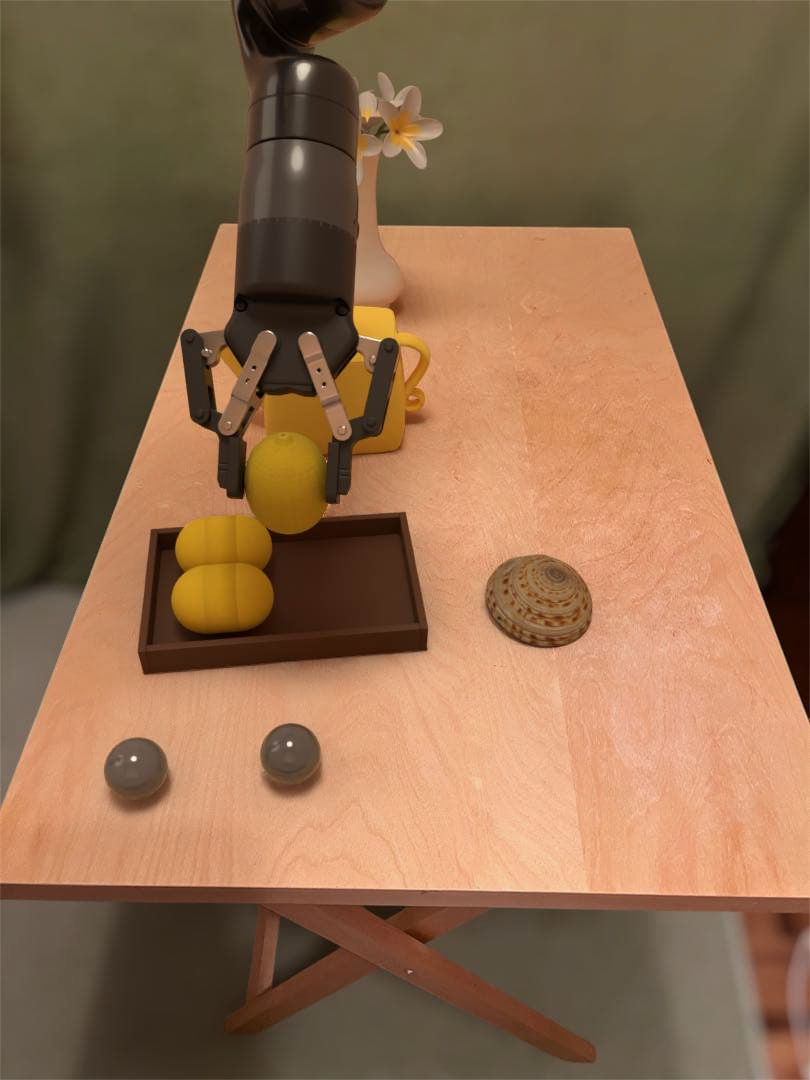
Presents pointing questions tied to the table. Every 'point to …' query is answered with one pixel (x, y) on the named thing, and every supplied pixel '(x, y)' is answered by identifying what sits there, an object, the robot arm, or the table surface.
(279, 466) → the lemon
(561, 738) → the table surface
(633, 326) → the table surface
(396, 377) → the teapot
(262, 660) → the tray
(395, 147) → the flower vase
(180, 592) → the yellow ribbed oblong body
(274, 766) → the stone right
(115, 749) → the glossy gray ball
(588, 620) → the seashell
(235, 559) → the yellow banded capsule
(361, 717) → the table surface
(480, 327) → the table surface
